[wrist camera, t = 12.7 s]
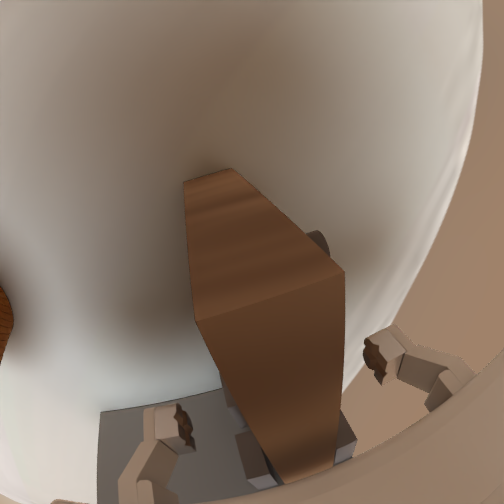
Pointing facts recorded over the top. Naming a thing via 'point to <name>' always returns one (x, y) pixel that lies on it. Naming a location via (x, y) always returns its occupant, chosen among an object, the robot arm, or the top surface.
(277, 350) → the walnut door
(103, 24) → the top surface
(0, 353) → the disposable coffee cup
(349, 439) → the cabinet side
